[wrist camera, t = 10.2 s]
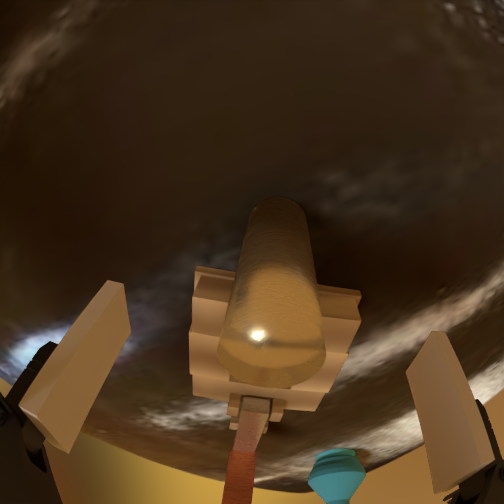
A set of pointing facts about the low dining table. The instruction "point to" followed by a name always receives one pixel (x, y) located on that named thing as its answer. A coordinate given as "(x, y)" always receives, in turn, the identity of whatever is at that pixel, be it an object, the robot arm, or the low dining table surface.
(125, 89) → the low dining table surface
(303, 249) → the tan rounded cylinder
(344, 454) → the perfume bottle
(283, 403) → the dock
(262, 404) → the pin
